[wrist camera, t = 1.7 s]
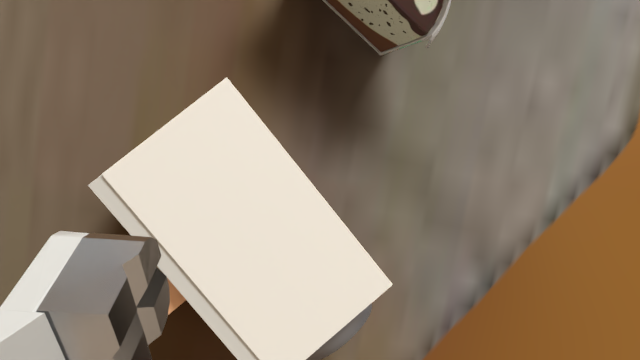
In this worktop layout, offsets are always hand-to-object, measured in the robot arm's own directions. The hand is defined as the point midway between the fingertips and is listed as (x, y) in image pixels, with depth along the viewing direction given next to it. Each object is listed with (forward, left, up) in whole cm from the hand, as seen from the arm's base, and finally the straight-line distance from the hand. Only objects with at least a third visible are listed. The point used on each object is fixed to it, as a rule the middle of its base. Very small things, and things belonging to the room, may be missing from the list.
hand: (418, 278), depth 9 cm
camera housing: (-1, -2, -37) cm, 37 cm away
